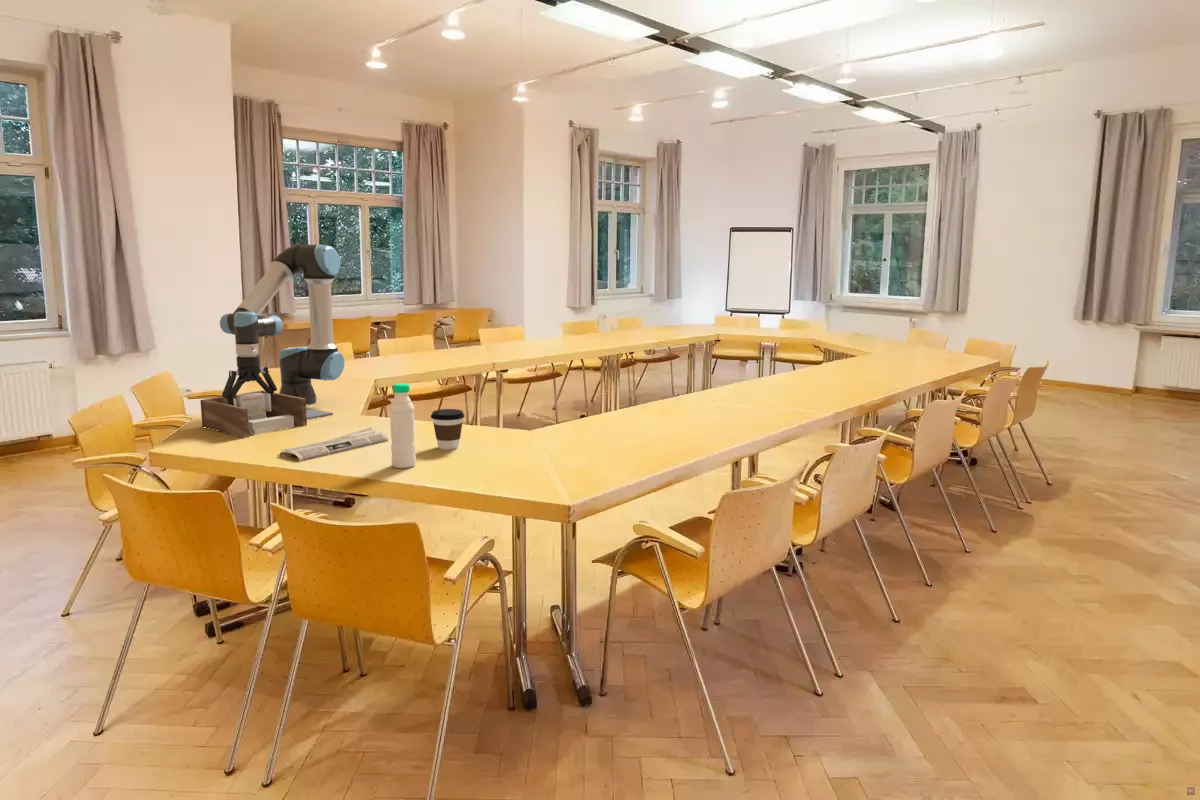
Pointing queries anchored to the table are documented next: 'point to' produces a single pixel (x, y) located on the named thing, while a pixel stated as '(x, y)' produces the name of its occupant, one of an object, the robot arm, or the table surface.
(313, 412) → the grey mat
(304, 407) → the walnut open-sided box
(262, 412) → the ink box
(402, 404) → the water bottle
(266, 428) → the lower offcut
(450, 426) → the coffee cup
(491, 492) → the table surface
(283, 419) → the upper offcut
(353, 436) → the newspaper
